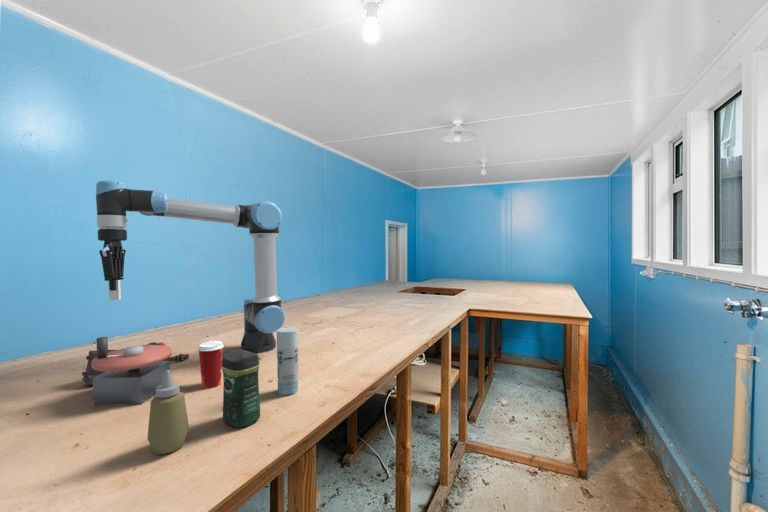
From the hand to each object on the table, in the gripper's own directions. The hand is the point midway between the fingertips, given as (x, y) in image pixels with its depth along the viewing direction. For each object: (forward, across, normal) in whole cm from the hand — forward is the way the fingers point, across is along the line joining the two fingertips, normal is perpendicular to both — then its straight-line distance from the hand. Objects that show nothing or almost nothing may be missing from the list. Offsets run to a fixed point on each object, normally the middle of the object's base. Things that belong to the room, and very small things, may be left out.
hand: (115, 299), depth 112 cm
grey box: (+29, -10, -8) cm, 31 cm away
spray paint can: (+29, -23, -54) cm, 66 cm away
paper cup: (+29, -10, -30) cm, 43 cm away
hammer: (+29, +12, -3) cm, 32 cm away
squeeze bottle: (+29, -45, -27) cm, 60 cm away
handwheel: (+21, -10, -8) cm, 24 cm away
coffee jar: (+29, -37, -42) cm, 63 cm away
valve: (+29, +31, +8) cm, 44 cm away
